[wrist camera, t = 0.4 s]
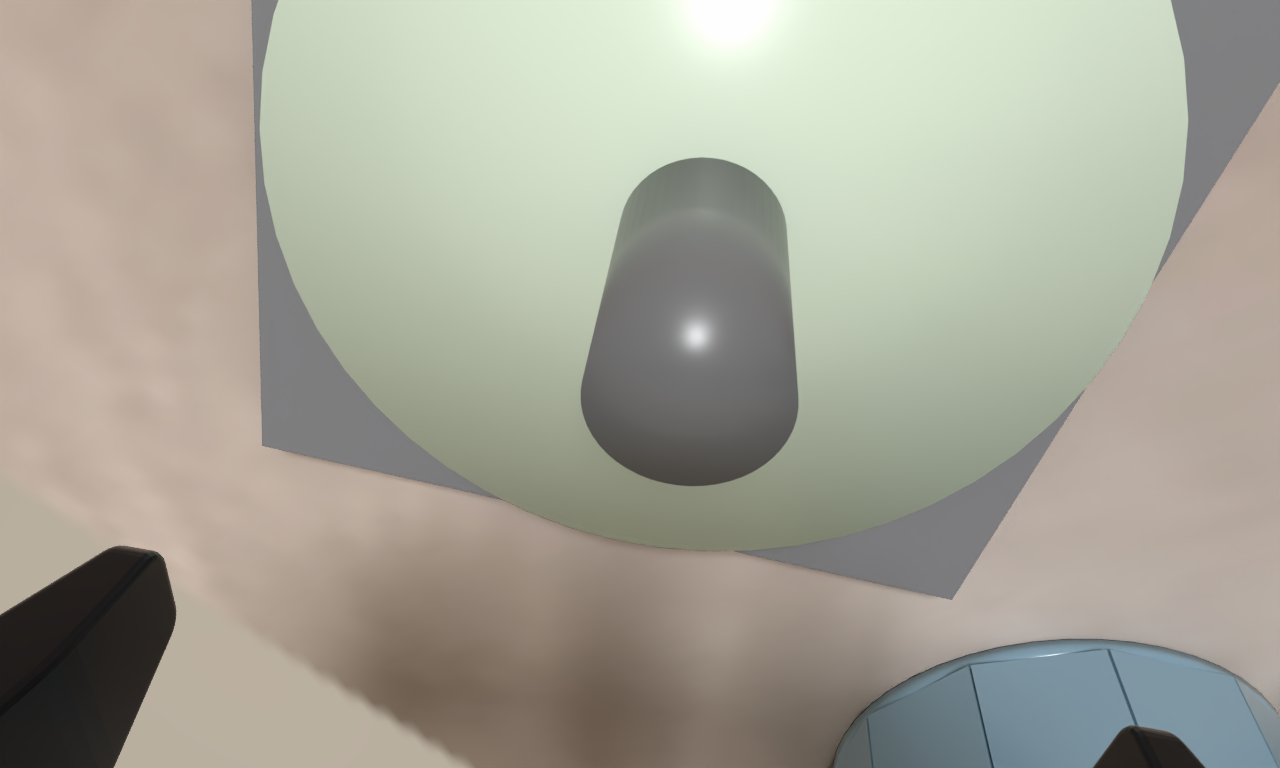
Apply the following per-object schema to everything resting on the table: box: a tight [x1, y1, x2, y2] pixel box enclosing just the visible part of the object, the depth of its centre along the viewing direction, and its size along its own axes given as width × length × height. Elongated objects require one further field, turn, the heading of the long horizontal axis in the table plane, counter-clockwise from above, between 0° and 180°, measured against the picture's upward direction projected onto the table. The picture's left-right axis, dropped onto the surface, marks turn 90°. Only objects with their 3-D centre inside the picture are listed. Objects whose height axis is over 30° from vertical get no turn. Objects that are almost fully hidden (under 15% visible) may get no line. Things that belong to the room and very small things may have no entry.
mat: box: [252, 0, 1280, 600], centre depth 18 cm, size 17×17×1 cm
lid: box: [260, 0, 1188, 551], centre depth 16 cm, size 16×16×6 cm
